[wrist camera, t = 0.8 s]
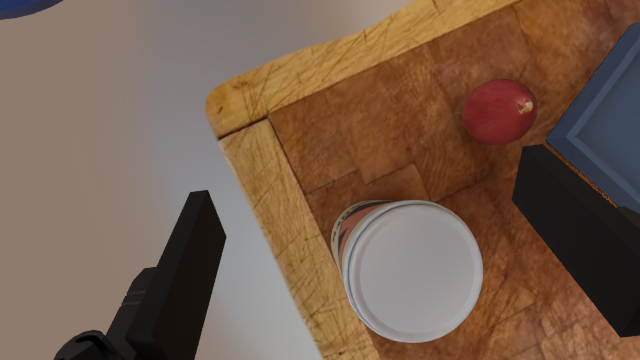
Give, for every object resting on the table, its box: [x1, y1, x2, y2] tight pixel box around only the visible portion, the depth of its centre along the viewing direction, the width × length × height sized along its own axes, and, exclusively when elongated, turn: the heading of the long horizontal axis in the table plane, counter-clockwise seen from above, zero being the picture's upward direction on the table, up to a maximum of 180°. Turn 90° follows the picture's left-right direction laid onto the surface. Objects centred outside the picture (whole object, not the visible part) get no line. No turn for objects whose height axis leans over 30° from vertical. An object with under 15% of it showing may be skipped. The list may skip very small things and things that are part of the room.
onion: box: [462, 79, 537, 146], centre depth 31 cm, size 6×6×8 cm
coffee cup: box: [331, 200, 483, 343], centre depth 28 cm, size 9×9×12 cm
